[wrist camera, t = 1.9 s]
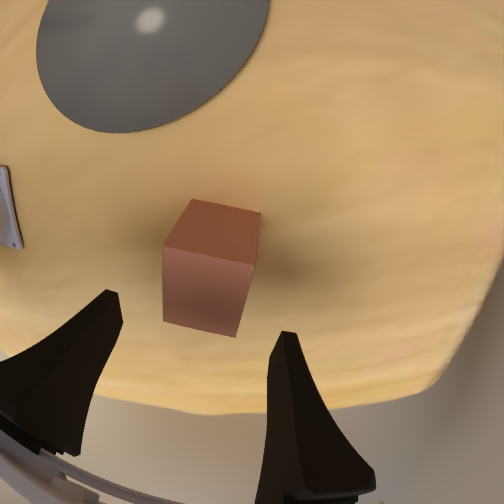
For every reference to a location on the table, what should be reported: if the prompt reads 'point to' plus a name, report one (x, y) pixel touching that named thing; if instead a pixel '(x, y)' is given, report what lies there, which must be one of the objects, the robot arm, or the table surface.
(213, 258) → the block
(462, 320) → the table surface
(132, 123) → the plate
